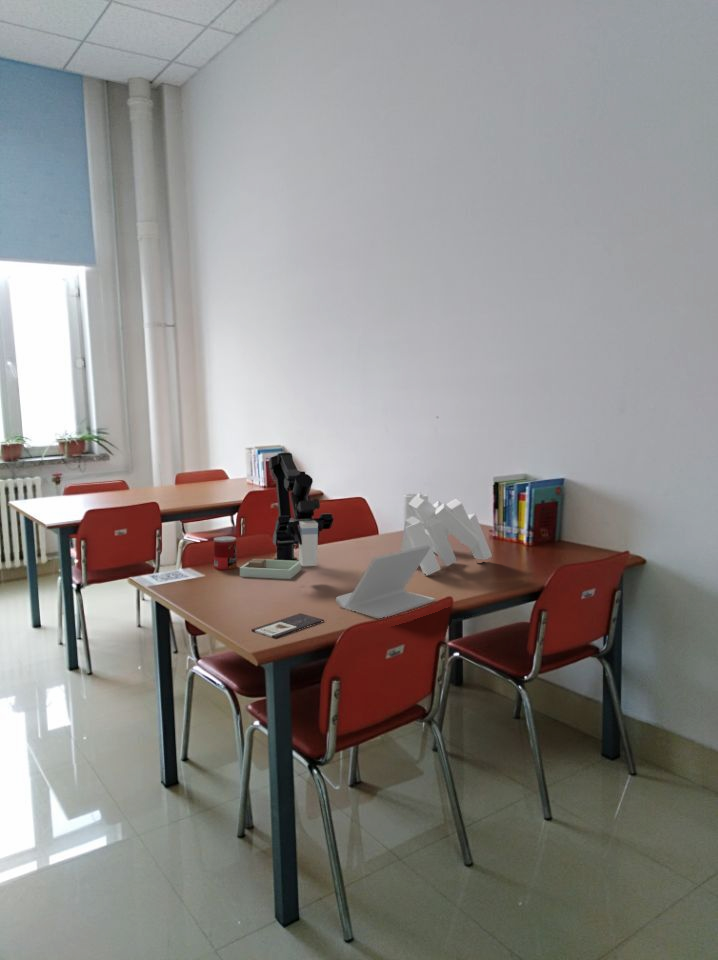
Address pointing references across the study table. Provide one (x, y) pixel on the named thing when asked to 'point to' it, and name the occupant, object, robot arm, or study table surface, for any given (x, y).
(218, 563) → the canned food
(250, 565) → the walnut block
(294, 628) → the chocolate bar
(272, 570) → the pale green tray
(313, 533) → the carton
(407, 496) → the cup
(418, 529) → the white geometric sculpture
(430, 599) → the tablet stand
